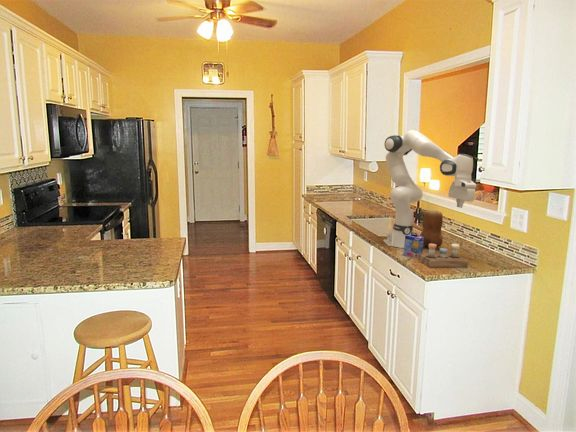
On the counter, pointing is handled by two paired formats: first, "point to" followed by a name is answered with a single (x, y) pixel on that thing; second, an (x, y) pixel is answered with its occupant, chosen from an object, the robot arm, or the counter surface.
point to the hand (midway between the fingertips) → (459, 207)
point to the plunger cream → (454, 250)
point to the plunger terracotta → (432, 250)
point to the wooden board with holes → (442, 261)
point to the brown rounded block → (432, 228)
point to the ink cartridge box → (413, 245)
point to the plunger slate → (443, 252)
